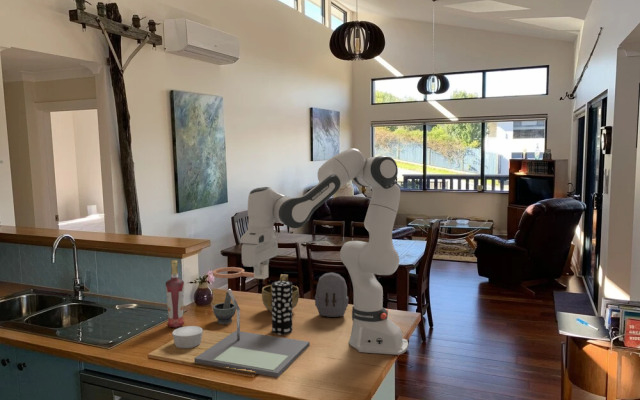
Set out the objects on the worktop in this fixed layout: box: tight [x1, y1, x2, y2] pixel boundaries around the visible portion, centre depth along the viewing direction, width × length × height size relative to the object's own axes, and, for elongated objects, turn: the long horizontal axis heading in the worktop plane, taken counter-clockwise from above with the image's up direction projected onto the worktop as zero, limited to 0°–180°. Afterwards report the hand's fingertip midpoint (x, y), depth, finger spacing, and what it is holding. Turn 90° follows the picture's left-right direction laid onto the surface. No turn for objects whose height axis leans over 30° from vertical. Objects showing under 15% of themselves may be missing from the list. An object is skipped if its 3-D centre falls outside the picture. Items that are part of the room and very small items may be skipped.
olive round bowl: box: [261, 273, 300, 313], centre depth 222 cm, size 22×17×15 cm
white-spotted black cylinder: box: [271, 280, 293, 336], centre depth 197 cm, size 8×8×20 cm
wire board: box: [194, 330, 311, 378], centre depth 176 cm, size 32×28×2 cm
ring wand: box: [212, 263, 269, 280], centre depth 171 cm, size 20×11×4 cm, turn 69°
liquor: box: [165, 259, 185, 329], centre depth 202 cm, size 7×7×28 cm
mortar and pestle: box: [212, 291, 237, 325], centre depth 209 cm, size 11×9×12 cm
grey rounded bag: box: [314, 272, 349, 318], centre depth 215 cm, size 15×8×20 cm, turn 81°
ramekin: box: [172, 325, 204, 349], centre depth 184 cm, size 11×11×5 cm
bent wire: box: [227, 288, 241, 341], centre depth 181 cm, size 1×8×22 cm, turn 159°
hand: (261, 273), depth 168 cm, fingers closed on ring wand, 3 cm apart
